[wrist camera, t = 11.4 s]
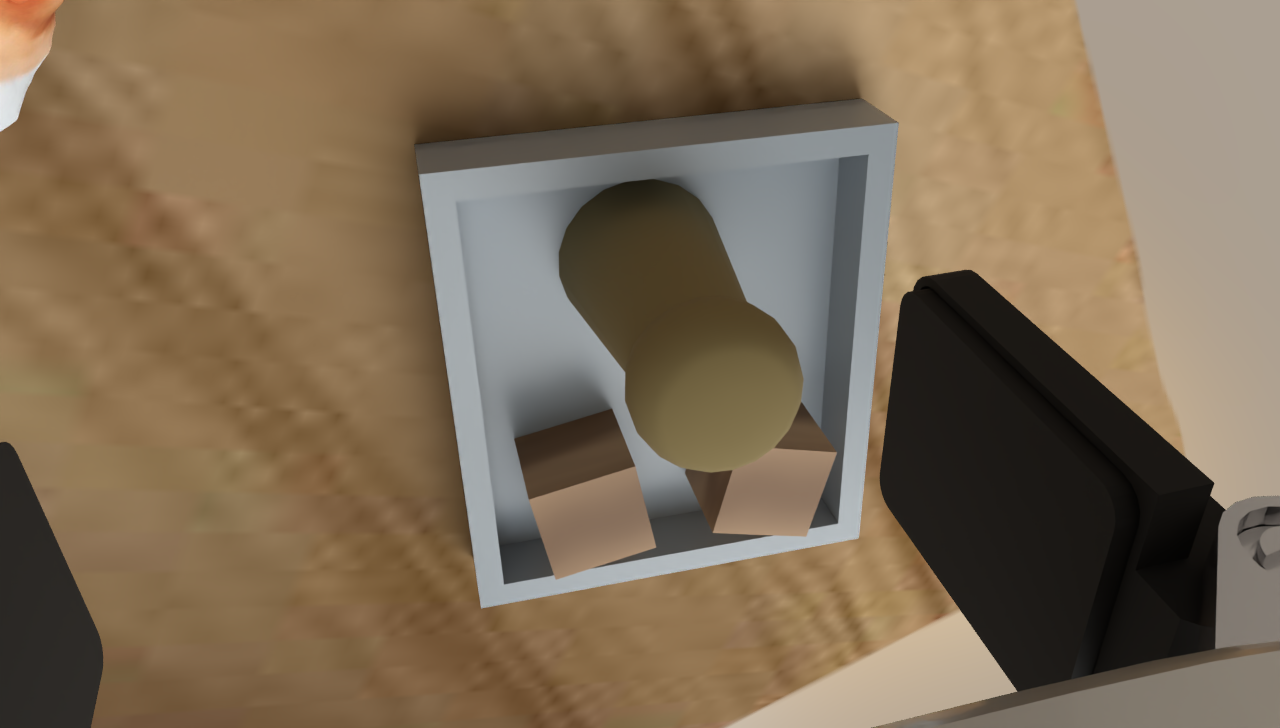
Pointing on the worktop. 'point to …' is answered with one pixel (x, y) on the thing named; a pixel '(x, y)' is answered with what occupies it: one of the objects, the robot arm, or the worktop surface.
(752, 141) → the tray
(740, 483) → the walnut block
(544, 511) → the walnut block
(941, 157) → the worktop surface
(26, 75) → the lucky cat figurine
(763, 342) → the cork
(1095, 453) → the robot arm
